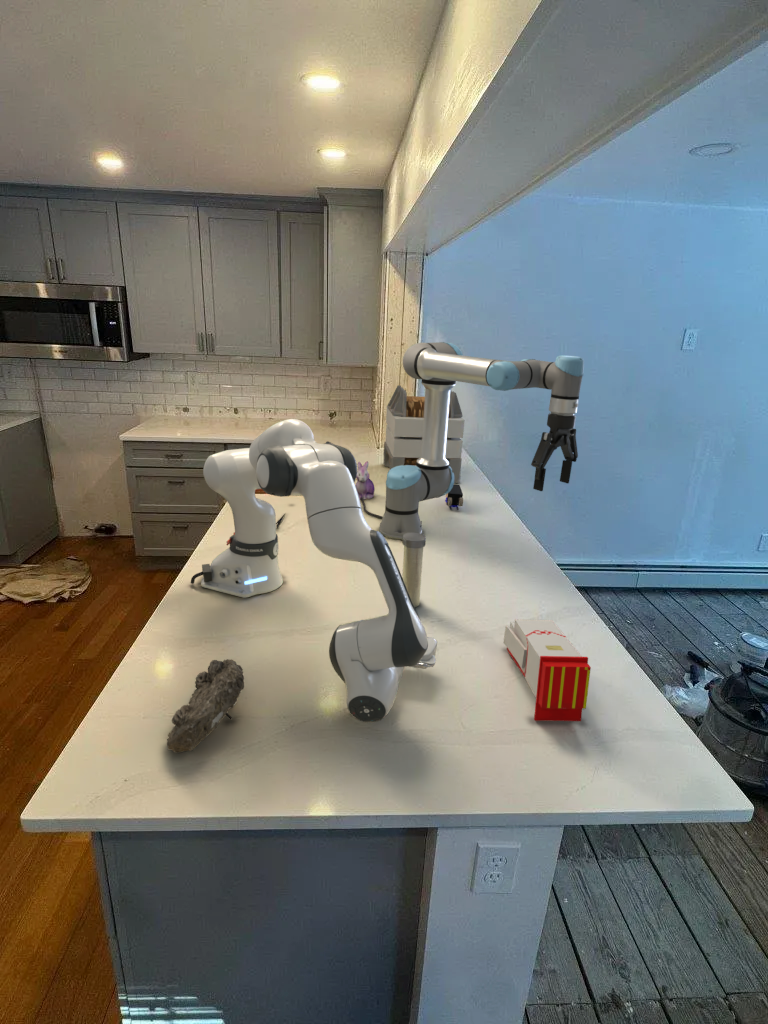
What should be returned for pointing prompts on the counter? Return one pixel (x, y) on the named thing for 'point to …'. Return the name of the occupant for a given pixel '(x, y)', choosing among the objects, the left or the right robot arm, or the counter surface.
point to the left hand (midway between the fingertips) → (395, 626)
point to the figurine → (364, 482)
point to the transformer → (419, 431)
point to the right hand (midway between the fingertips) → (551, 486)
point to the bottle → (413, 572)
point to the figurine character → (454, 497)
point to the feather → (279, 521)
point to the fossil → (206, 705)
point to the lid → (414, 540)
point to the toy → (549, 668)
